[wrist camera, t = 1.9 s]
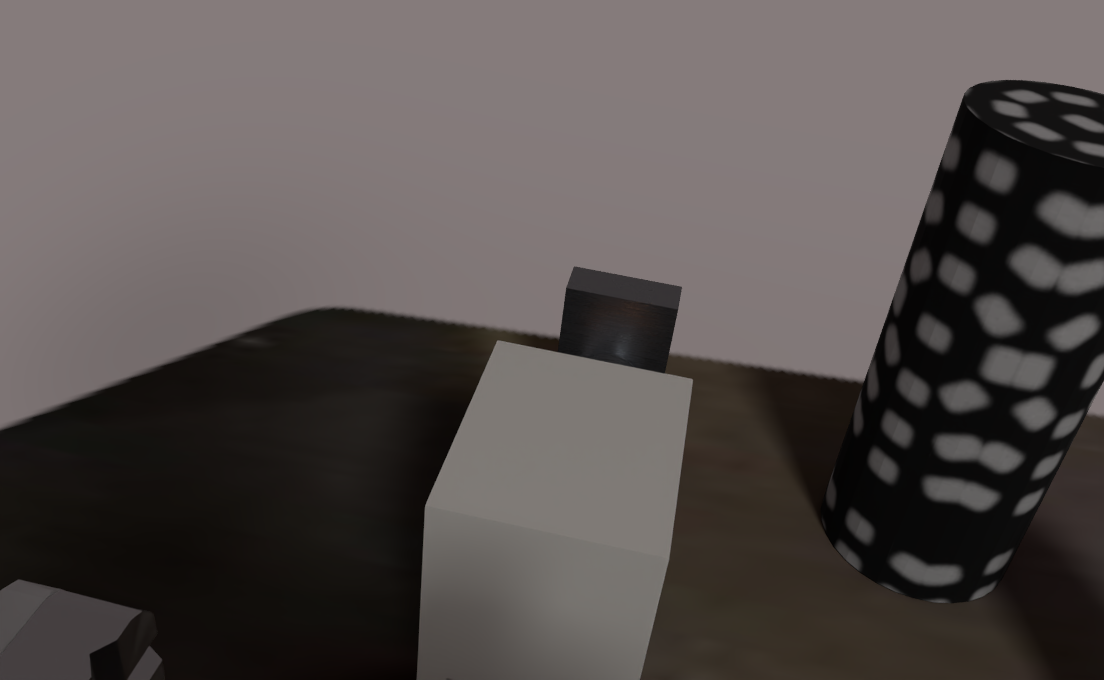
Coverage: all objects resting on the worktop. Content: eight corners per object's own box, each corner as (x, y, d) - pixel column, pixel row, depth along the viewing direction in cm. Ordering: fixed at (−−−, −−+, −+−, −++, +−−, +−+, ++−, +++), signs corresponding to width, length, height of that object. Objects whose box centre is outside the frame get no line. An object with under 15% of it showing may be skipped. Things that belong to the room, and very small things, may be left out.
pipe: (571, 879, 32) (609, 711, 27) (418, 840, 32) (428, 669, 27) (651, 431, 51) (681, 286, 46) (554, 411, 51) (574, 266, 46)
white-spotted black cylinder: (784, 500, 47) (914, 90, 36) (908, 454, 51) (1061, 72, 40) (915, 629, 42) (1118, 190, 30) (1044, 567, 45) (1266, 157, 34)
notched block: (602, 831, 32) (669, 558, 26) (411, 783, 33) (425, 505, 26) (633, 637, 39) (693, 379, 32) (473, 601, 40) (497, 340, 33)
